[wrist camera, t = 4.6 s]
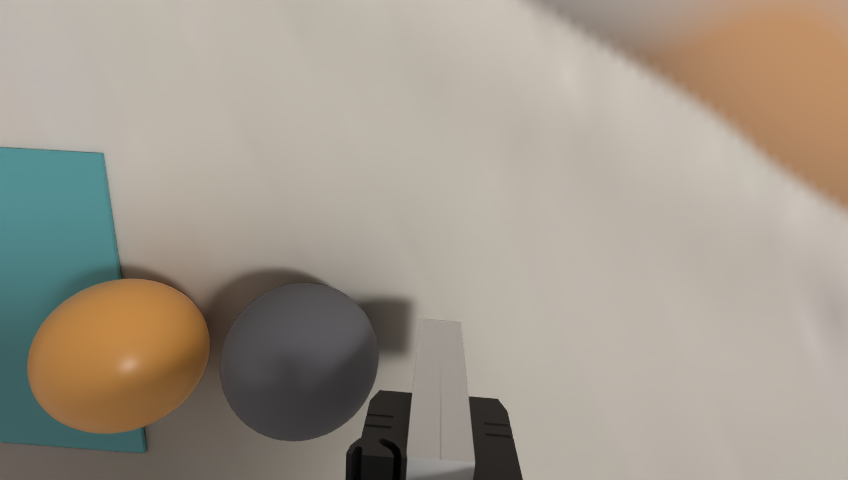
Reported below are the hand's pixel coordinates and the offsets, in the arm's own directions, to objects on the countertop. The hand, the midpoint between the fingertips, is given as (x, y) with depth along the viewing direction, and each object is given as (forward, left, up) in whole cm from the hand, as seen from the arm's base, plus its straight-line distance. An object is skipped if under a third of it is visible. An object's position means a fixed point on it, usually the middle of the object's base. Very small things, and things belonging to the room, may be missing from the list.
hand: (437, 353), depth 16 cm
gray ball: (+5, 0, 0) cm, 5 cm away
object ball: (+12, +1, 0) cm, 12 cm away
